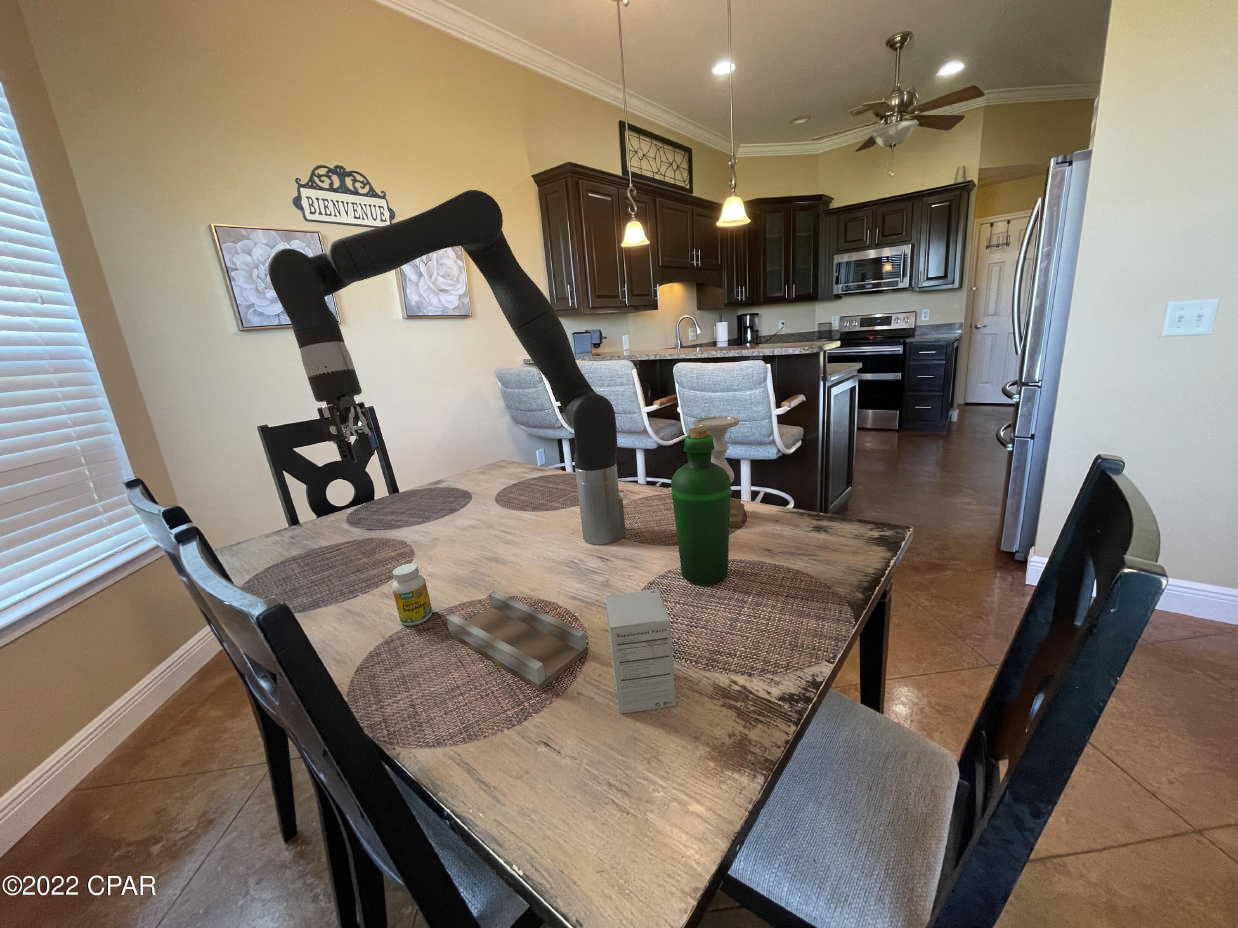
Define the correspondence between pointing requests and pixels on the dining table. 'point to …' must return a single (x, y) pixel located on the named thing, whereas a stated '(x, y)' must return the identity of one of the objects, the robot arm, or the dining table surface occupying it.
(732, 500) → the candle holder
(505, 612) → the walnut track
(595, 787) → the dining table surface
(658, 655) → the supplement box
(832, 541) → the dining table surface
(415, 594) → the supplement bottle
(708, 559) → the bottle
